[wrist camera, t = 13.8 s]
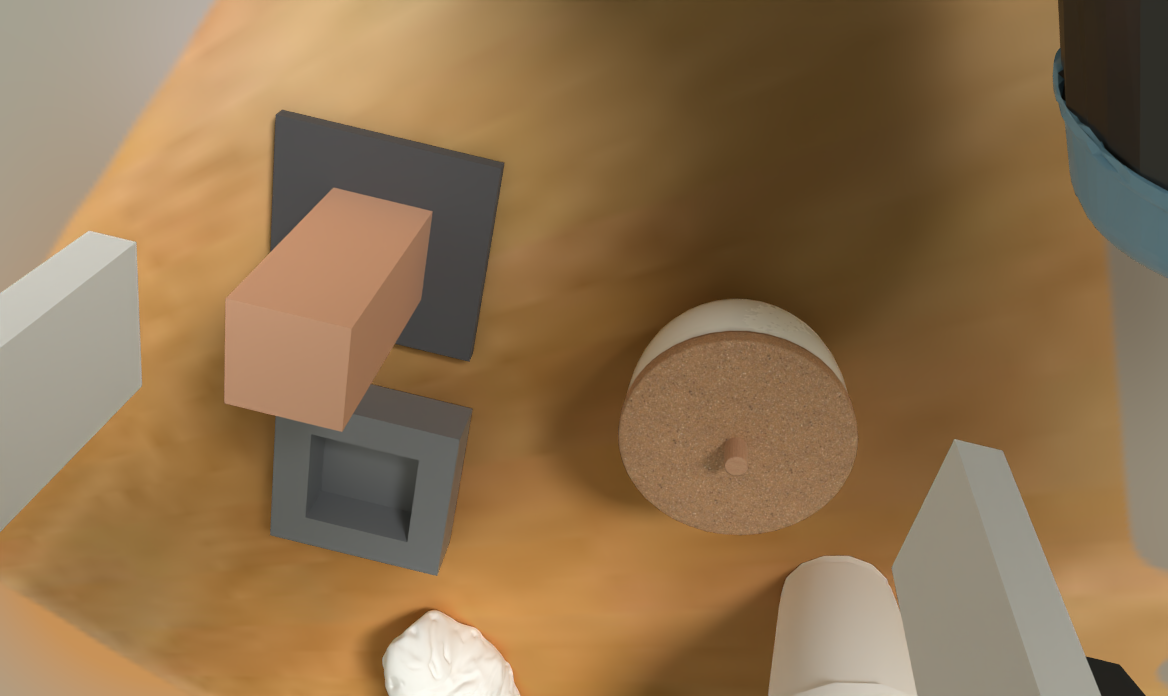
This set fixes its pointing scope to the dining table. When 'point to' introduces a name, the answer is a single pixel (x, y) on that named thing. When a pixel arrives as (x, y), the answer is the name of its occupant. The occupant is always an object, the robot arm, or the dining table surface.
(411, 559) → the holder
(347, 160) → the mat
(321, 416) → the block
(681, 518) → the lidded jar
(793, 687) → the foam cup
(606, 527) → the dining table surface
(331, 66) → the dining table surface
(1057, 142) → the dining table surface
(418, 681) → the bust
